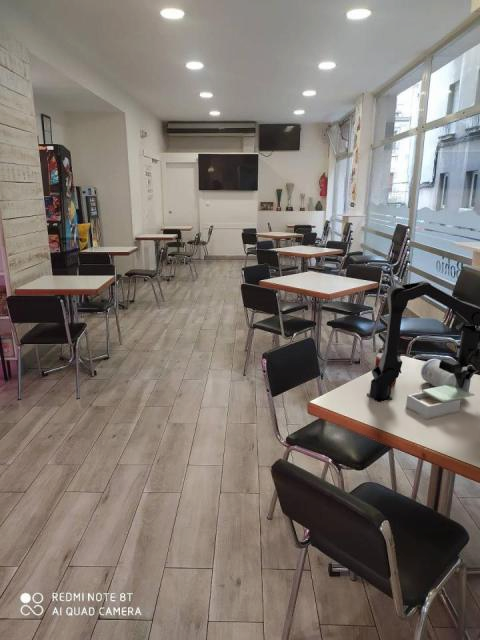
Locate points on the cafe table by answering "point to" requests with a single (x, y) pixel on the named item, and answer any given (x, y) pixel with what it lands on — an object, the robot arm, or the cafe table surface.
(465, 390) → the lid
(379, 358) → the canned food
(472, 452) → the cafe table surface
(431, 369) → the supplement tub
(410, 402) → the white shallow box
